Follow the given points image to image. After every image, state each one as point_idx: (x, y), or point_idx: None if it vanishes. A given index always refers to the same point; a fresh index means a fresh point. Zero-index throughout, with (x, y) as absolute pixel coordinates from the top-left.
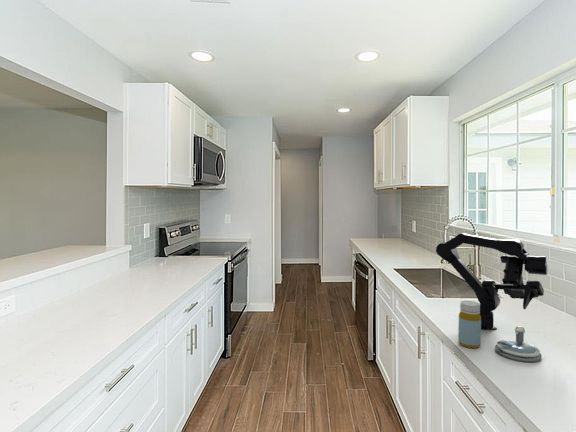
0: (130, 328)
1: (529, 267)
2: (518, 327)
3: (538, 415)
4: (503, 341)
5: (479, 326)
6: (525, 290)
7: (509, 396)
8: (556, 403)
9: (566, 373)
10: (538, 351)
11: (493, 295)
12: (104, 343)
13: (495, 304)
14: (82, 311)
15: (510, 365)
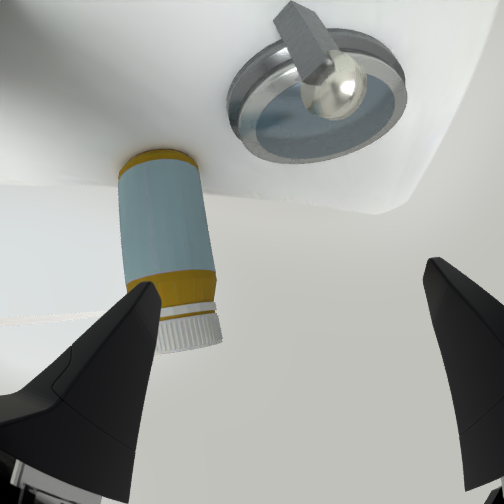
0: (53, 315)
1: None
2: (334, 120)
3: (377, 209)
4: (258, 124)
5: (210, 246)
6: (468, 456)
7: (344, 210)
8: (400, 189)
9: (446, 114)
10: (402, 105)
11: (135, 410)
12: (82, 313)
13: (157, 316)
14: (23, 322)
15: (322, 161)
